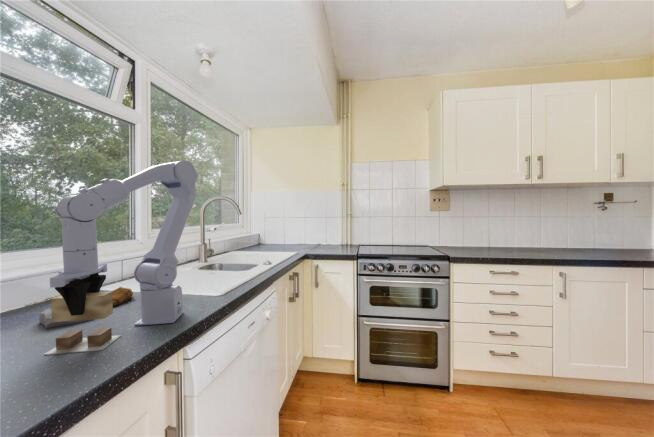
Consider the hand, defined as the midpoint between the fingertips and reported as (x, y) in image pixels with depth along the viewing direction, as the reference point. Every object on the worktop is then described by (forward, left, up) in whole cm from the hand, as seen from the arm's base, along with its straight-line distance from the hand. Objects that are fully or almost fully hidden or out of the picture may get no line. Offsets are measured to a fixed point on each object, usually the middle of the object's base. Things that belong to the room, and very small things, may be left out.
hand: (83, 311), depth 63 cm
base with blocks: (0, 0, -7) cm, 7 cm away
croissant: (+10, -33, -8) cm, 35 cm away
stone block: (+14, -18, -8) cm, 24 cm away
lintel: (0, 0, -1) cm, 1 cm away
